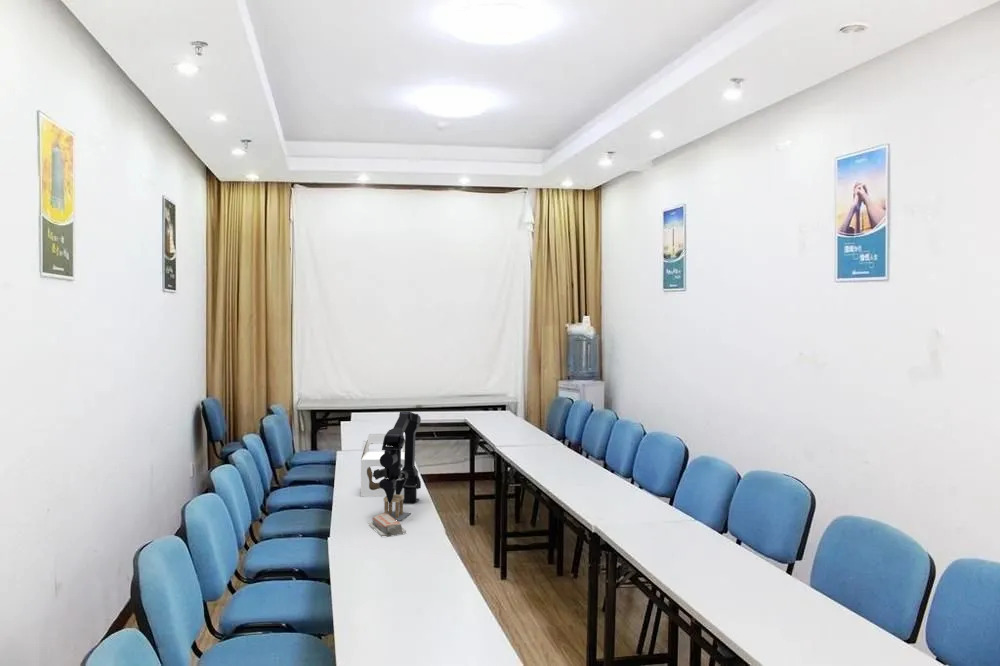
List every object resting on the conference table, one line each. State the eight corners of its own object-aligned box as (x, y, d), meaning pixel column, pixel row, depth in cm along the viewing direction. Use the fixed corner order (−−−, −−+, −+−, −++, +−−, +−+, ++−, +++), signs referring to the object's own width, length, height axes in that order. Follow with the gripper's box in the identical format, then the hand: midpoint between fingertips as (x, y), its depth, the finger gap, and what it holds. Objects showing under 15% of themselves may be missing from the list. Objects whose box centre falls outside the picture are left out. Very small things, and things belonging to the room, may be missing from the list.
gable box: (410, 489, 353) (410, 431, 352) (408, 496, 340) (409, 436, 339) (363, 489, 351) (363, 431, 350) (360, 497, 338) (360, 436, 337)
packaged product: (406, 522, 284) (382, 526, 280) (406, 534, 284) (382, 538, 280) (391, 510, 300) (367, 513, 296) (391, 522, 300) (367, 525, 296)
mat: (386, 512, 314) (386, 510, 314) (410, 513, 311) (410, 512, 311) (376, 519, 303) (376, 518, 303) (401, 521, 301) (401, 520, 301)
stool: (389, 512, 311) (389, 494, 311) (403, 513, 310) (403, 495, 309) (383, 516, 305) (383, 497, 304) (398, 518, 303) (398, 498, 303)
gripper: (384, 457, 317) (383, 492, 318) (367, 466, 299) (367, 504, 299) (408, 458, 315) (408, 494, 315) (392, 467, 296) (392, 506, 297)
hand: (393, 499), depth 307 cm, fingers open, 9 cm apart
